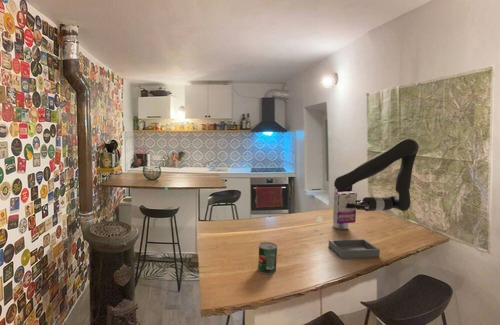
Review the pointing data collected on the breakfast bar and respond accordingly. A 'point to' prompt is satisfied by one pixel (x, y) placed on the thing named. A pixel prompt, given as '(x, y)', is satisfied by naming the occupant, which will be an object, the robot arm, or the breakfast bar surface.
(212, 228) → the breakfast bar surface
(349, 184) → the robot arm
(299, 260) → the breakfast bar surface
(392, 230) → the breakfast bar surface
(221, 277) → the breakfast bar surface
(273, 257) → the canned tomato
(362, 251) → the tray
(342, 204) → the candy bar box
